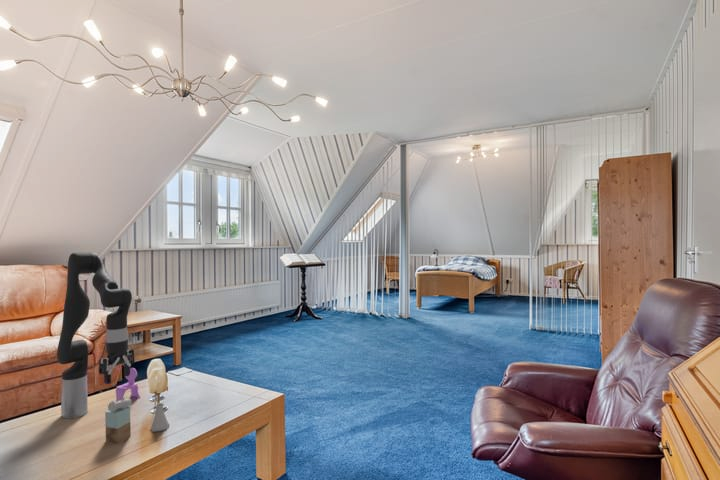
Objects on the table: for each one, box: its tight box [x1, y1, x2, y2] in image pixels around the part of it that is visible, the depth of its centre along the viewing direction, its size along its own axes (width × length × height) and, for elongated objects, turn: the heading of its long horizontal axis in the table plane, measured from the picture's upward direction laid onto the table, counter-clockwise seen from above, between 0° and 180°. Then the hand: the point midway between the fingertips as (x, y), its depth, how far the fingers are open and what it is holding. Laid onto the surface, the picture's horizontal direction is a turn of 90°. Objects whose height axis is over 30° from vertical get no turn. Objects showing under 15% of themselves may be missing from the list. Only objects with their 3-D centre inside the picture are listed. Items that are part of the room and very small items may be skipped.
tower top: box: [104, 406, 131, 429], centre depth 160 cm, size 6×6×6 cm
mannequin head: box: [107, 397, 133, 412], centre depth 160 cm, size 4×8×5 cm
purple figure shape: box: [115, 367, 141, 402], centre depth 198 cm, size 8×9×15 cm
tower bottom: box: [105, 421, 132, 445], centre depth 160 cm, size 6×6×6 cm
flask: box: [150, 402, 170, 433], centre depth 169 cm, size 7×7×10 cm
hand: (117, 379), depth 160 cm, fingers open, 8 cm apart
